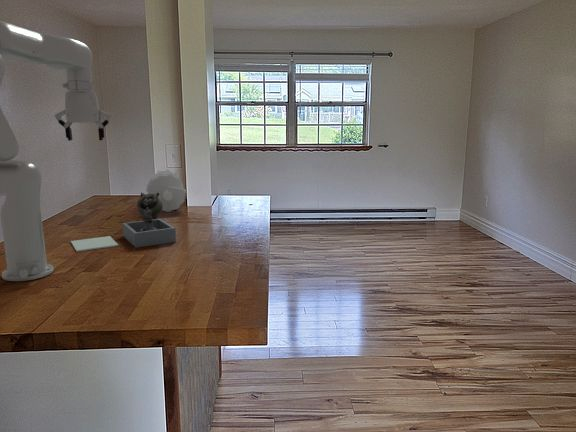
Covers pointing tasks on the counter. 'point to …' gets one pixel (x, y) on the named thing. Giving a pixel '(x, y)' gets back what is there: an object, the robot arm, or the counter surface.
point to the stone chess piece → (148, 221)
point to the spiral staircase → (167, 189)
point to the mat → (93, 243)
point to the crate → (149, 233)
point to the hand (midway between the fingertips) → (85, 140)
